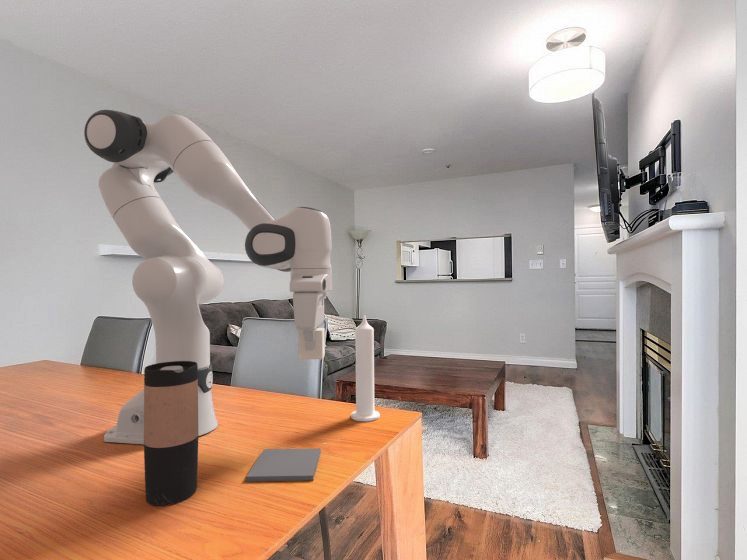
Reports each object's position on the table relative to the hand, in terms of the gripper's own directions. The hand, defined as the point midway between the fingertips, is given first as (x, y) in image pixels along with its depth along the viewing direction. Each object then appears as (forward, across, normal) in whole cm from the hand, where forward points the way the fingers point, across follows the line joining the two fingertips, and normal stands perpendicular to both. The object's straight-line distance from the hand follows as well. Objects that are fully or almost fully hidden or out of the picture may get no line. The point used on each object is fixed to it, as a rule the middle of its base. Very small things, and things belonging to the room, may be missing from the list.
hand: (311, 347), depth 85 cm
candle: (+19, -12, +11) cm, 25 cm away
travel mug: (+19, +23, -19) cm, 35 cm away
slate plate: (+19, +14, -3) cm, 24 cm away
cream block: (+2, 0, 0) cm, 2 cm away
